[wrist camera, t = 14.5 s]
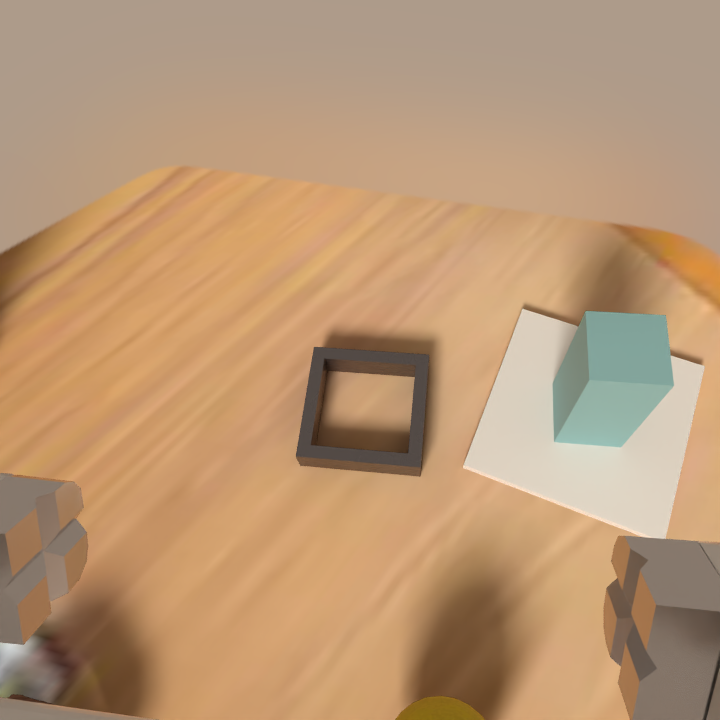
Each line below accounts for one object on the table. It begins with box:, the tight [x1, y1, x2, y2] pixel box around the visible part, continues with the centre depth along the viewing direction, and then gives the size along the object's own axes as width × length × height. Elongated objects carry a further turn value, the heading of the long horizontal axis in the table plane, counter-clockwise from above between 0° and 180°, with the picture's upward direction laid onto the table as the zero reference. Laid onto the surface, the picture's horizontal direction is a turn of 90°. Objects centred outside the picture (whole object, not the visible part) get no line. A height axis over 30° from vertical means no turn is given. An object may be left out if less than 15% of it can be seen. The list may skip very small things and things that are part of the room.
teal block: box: [553, 311, 674, 447], centre depth 37 cm, size 4×4×9 cm
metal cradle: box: [296, 347, 429, 476], centre depth 42 cm, size 8×8×2 cm
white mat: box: [463, 309, 705, 539], centre depth 41 cm, size 12×12×1 cm
